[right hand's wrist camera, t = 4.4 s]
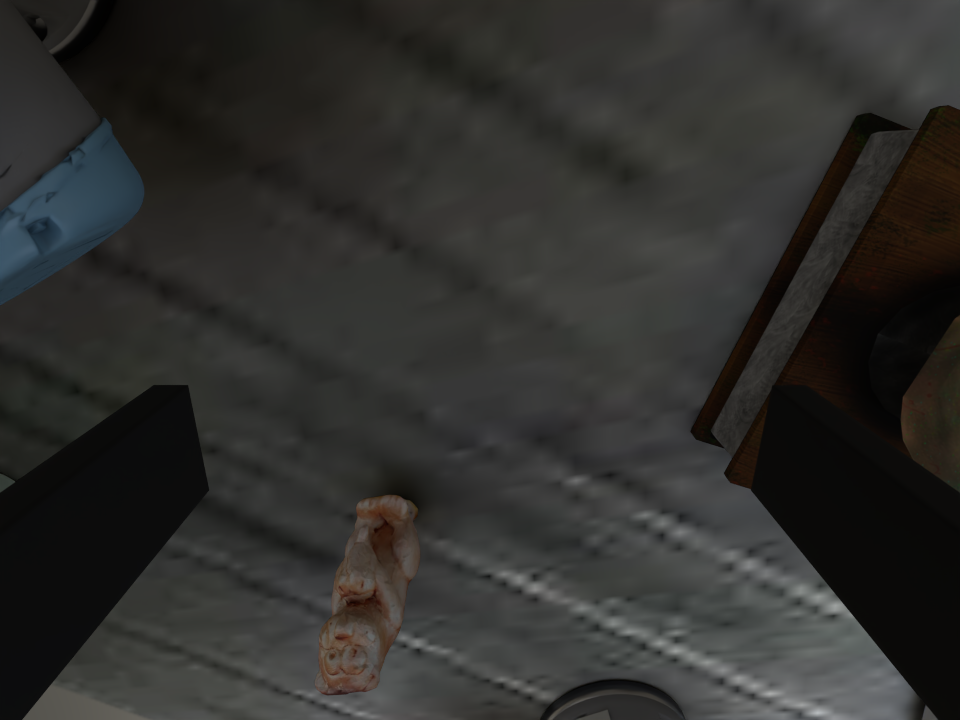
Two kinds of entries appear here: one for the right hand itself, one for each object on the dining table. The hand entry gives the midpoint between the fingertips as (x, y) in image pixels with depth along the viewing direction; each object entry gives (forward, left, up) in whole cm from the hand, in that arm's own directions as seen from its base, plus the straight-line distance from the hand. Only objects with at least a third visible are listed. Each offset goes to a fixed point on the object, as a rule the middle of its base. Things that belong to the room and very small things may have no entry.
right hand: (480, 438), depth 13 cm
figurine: (-22, +8, -28) cm, 37 cm away
